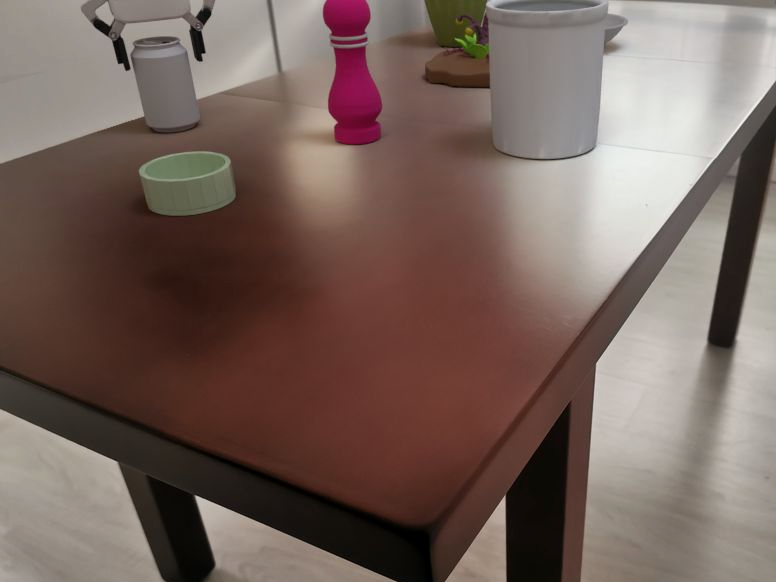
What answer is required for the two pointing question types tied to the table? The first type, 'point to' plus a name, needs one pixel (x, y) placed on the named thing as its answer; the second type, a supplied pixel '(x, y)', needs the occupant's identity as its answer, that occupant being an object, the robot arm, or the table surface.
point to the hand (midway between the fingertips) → (163, 64)
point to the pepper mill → (352, 73)
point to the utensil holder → (545, 75)
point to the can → (165, 83)
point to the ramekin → (188, 183)
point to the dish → (613, 26)
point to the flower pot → (453, 19)
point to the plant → (464, 59)
